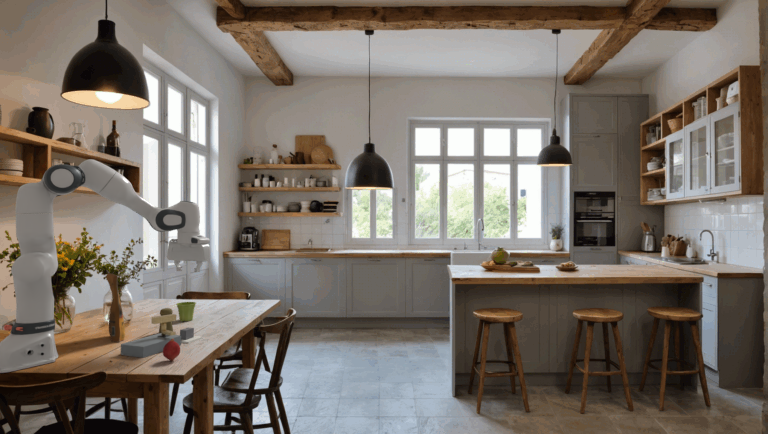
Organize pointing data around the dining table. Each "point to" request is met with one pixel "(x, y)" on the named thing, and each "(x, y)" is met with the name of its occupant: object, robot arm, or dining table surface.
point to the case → (148, 345)
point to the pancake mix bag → (115, 312)
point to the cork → (168, 324)
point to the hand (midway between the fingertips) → (188, 271)
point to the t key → (164, 323)
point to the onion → (171, 350)
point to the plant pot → (186, 310)
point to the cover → (188, 335)
